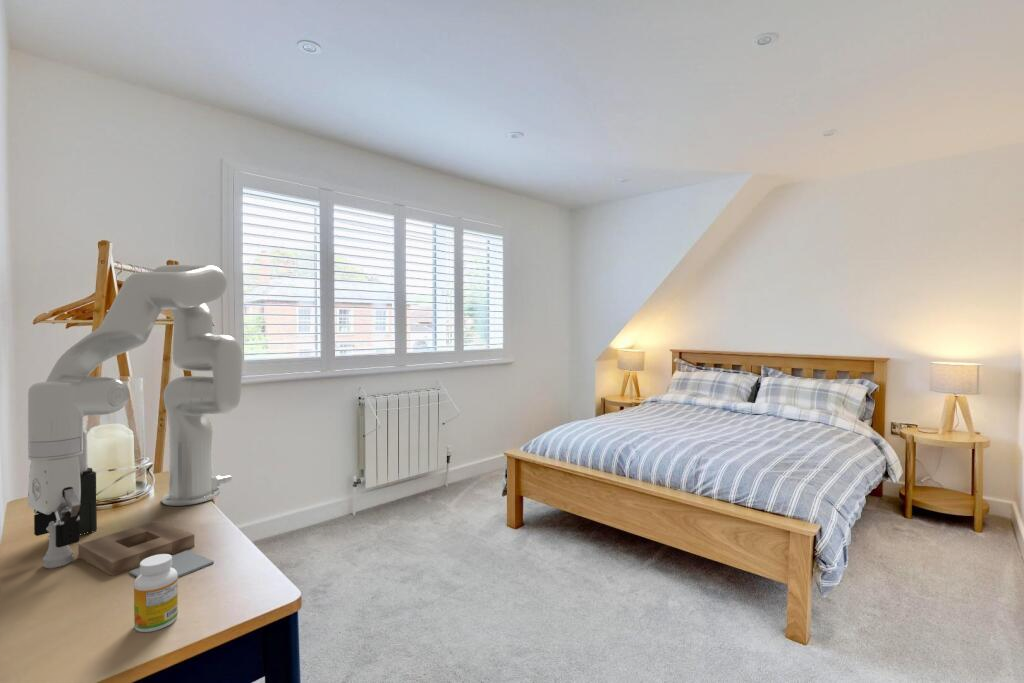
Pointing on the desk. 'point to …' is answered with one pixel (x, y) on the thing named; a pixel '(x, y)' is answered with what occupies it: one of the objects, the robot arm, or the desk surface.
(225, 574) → the desk surface
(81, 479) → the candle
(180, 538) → the collar block
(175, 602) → the supplement bottle
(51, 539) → the rook chess piece
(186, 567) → the rubber mat
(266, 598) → the desk surface
